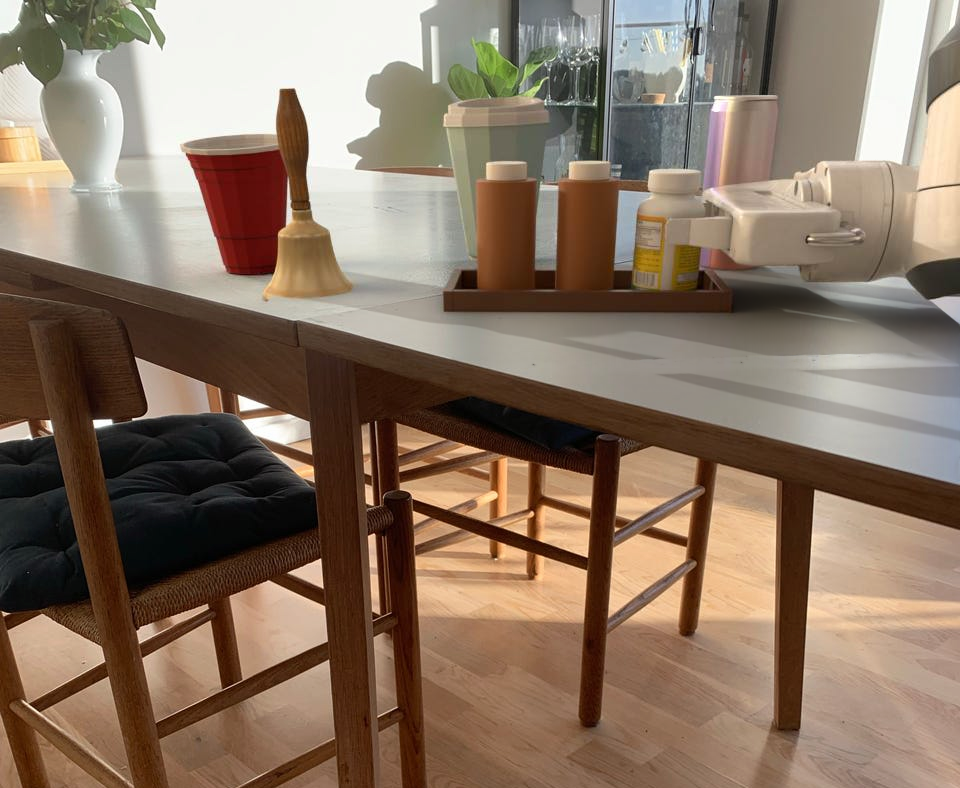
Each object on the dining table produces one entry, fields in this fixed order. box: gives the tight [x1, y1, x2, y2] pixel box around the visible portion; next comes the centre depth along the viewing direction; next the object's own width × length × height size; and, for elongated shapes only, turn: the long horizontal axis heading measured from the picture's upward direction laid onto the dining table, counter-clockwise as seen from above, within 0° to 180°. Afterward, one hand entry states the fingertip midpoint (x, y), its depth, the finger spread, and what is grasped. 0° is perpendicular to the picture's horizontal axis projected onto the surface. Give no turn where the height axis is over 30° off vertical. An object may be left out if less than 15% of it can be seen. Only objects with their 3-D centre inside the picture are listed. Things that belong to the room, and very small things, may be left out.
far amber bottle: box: [476, 161, 537, 290], centre depth 77 cm, size 5×5×10 cm
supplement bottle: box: [631, 168, 705, 290], centre depth 76 cm, size 5×5×10 cm
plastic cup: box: [179, 133, 289, 275], centre depth 93 cm, size 11×11×12 cm
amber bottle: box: [555, 160, 621, 290], centre depth 76 cm, size 5×5×10 cm
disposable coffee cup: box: [442, 96, 551, 262], centre depth 96 cm, size 11×11×15 cm
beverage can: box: [699, 94, 779, 272], centre depth 89 cm, size 6×6×15 cm
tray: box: [442, 268, 734, 314], centre depth 79 cm, size 23×11×2 cm, turn 87°
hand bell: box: [262, 87, 356, 301], centre depth 80 cm, size 8×8×16 cm
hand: (658, 223), depth 76 cm, fingers open, 8 cm apart
